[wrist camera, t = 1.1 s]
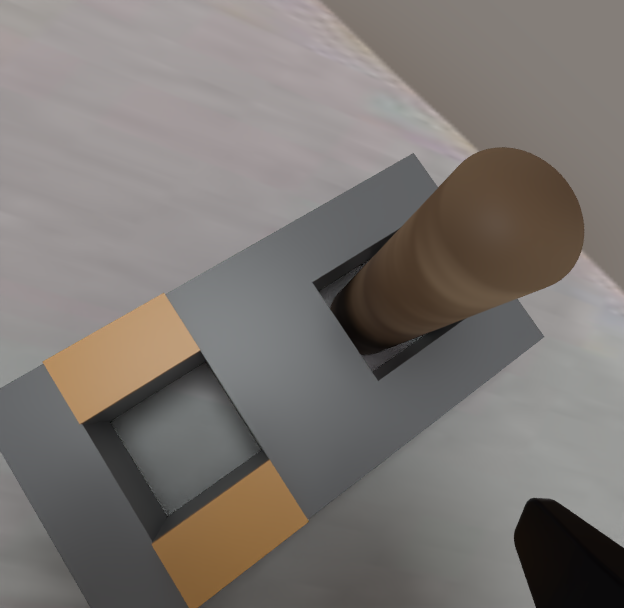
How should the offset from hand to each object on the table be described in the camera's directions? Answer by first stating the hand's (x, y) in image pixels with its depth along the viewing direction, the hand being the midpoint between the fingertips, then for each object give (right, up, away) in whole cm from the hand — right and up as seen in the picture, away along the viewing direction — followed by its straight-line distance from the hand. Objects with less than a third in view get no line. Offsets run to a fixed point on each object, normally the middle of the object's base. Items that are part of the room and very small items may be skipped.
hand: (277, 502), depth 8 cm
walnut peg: (+3, +3, +16) cm, 16 cm away
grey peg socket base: (-1, 0, +14) cm, 15 cm away
